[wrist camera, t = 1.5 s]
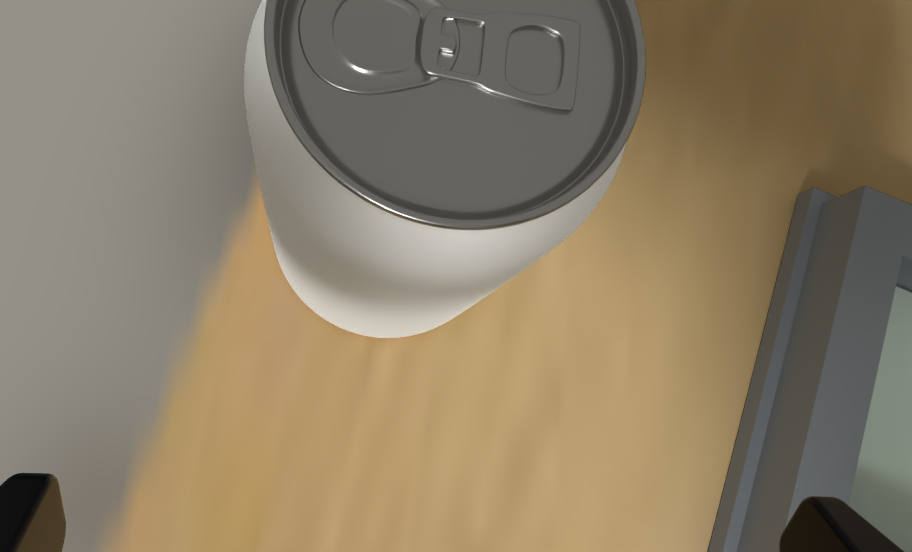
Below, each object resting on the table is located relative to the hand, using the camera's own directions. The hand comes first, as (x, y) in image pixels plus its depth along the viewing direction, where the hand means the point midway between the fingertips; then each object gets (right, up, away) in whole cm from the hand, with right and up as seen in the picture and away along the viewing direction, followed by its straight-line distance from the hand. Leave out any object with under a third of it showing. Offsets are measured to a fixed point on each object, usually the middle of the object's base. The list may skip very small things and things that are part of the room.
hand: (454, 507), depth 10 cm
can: (-2, +4, +14) cm, 14 cm away
